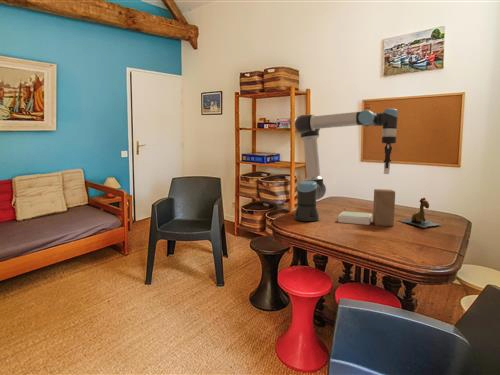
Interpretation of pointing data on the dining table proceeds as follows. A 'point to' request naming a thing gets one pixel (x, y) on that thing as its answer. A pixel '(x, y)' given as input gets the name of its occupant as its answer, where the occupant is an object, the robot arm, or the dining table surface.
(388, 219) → the wooden block
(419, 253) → the dining table surface
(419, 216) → the stuffed giraffe
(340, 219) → the picture frame
